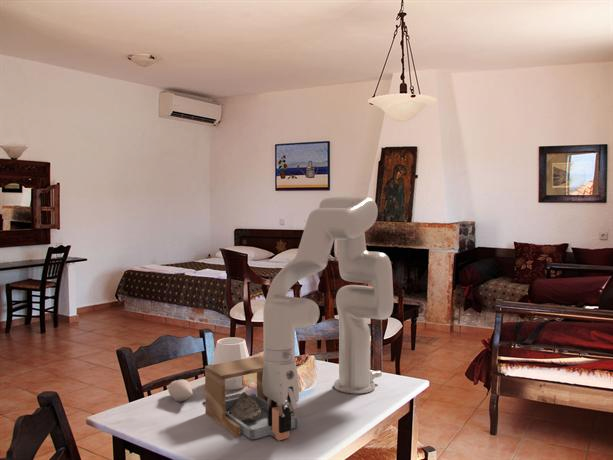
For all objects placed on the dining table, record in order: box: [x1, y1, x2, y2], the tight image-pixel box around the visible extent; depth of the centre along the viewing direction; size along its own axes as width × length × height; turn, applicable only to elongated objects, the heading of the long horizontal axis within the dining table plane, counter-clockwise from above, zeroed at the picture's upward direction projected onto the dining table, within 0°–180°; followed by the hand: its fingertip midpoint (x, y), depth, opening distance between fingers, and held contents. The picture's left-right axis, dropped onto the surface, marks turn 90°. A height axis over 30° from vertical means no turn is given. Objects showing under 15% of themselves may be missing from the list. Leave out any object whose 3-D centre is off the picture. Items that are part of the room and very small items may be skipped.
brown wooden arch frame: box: [202, 355, 296, 438], centre depth 149 cm, size 17×26×13 cm, turn 35°
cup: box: [211, 337, 250, 391], centre depth 172 cm, size 13×13×14 cm
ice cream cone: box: [167, 379, 193, 402], centre depth 158 cm, size 6×6×15 cm
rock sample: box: [228, 392, 262, 423], centre depth 145 cm, size 10×8×9 cm
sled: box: [225, 393, 299, 441], centre depth 142 cm, size 13×24×7 cm, turn 35°
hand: (279, 427), depth 134 cm, fingers closed on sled, 4 cm apart
